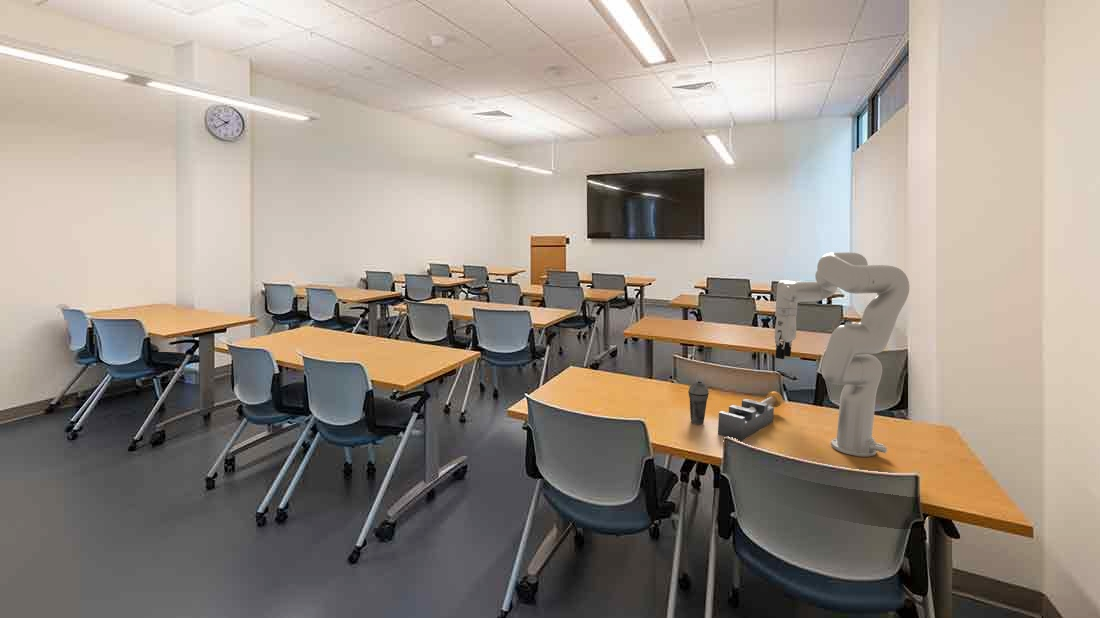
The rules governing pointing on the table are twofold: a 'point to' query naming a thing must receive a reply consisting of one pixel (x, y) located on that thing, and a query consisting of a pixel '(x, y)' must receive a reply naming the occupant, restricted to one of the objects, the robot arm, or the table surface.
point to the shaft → (770, 401)
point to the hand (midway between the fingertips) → (783, 356)
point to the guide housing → (744, 419)
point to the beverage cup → (698, 401)
